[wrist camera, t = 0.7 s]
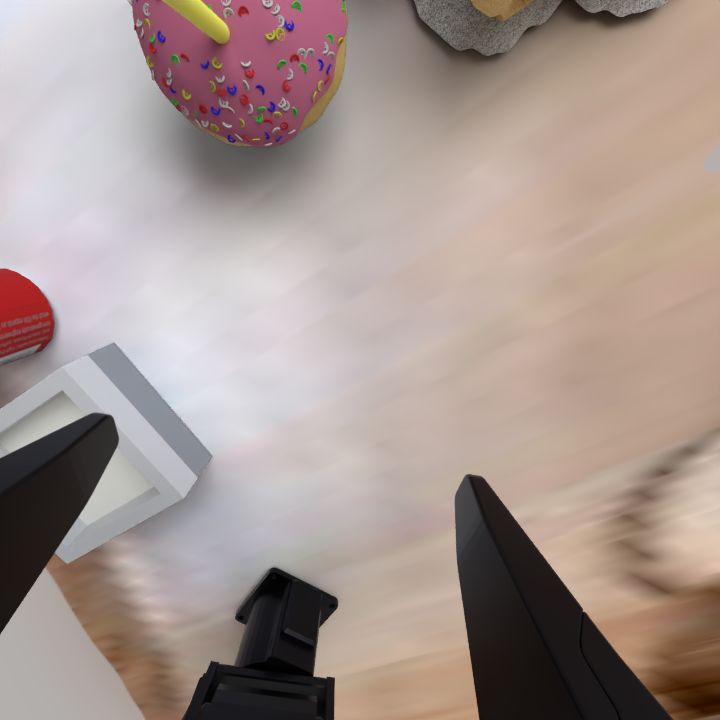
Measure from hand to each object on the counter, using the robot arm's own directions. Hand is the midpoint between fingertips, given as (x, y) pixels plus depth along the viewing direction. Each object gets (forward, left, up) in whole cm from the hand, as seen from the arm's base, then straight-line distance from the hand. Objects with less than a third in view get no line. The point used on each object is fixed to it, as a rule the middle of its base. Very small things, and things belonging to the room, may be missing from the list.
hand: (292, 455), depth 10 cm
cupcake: (+9, +10, -15) cm, 20 cm away
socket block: (-16, +8, -15) cm, 23 cm away
